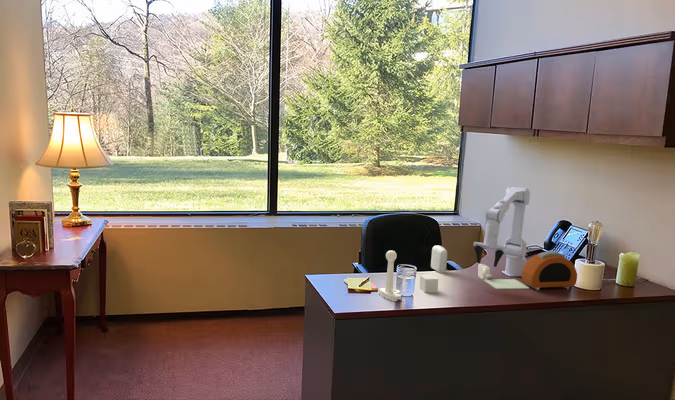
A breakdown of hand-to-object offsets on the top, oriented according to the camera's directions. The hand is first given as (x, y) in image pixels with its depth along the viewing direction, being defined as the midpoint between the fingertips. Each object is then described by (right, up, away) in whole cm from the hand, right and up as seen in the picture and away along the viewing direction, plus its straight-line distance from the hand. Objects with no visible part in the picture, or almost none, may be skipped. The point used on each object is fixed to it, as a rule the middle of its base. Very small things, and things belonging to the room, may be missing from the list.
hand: (486, 264), depth 234 cm
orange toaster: (+30, -11, +7) cm, 33 cm away
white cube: (-27, -11, -6) cm, 30 cm away
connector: (+3, -9, +15) cm, 18 cm away
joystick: (-45, -11, -17) cm, 49 cm away
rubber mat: (+11, -10, +7) cm, 16 cm away
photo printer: (-17, -6, +26) cm, 32 cm away
